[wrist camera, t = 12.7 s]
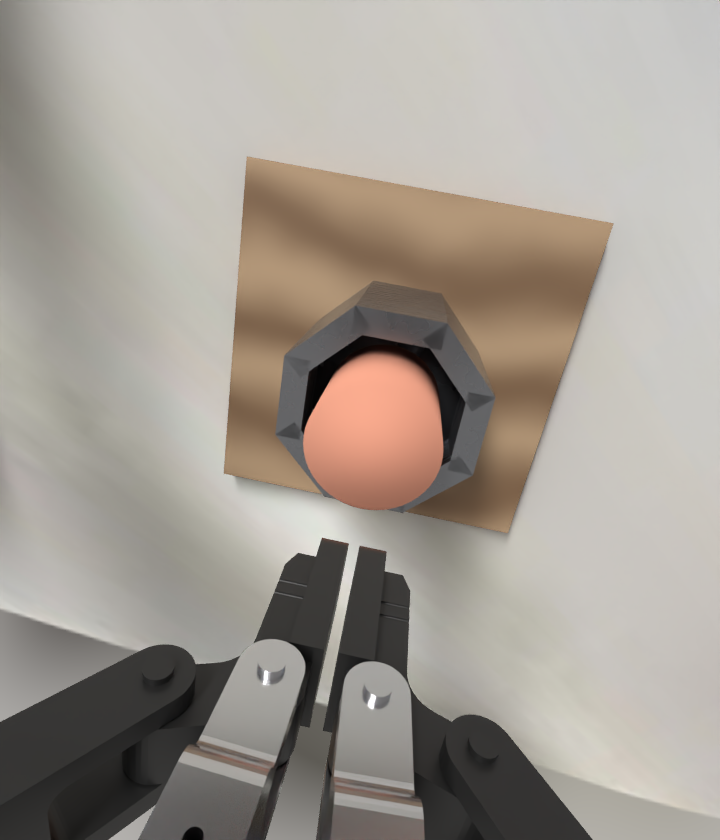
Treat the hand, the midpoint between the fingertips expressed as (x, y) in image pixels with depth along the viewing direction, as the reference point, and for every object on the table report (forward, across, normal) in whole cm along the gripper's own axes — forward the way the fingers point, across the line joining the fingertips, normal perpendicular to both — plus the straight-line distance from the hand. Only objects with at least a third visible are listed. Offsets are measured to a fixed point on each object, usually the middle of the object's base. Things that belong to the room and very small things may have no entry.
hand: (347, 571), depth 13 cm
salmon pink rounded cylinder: (+14, 0, 0) cm, 14 cm away
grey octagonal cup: (+20, 0, 0) cm, 20 cm away
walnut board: (+21, 0, 0) cm, 21 cm away
